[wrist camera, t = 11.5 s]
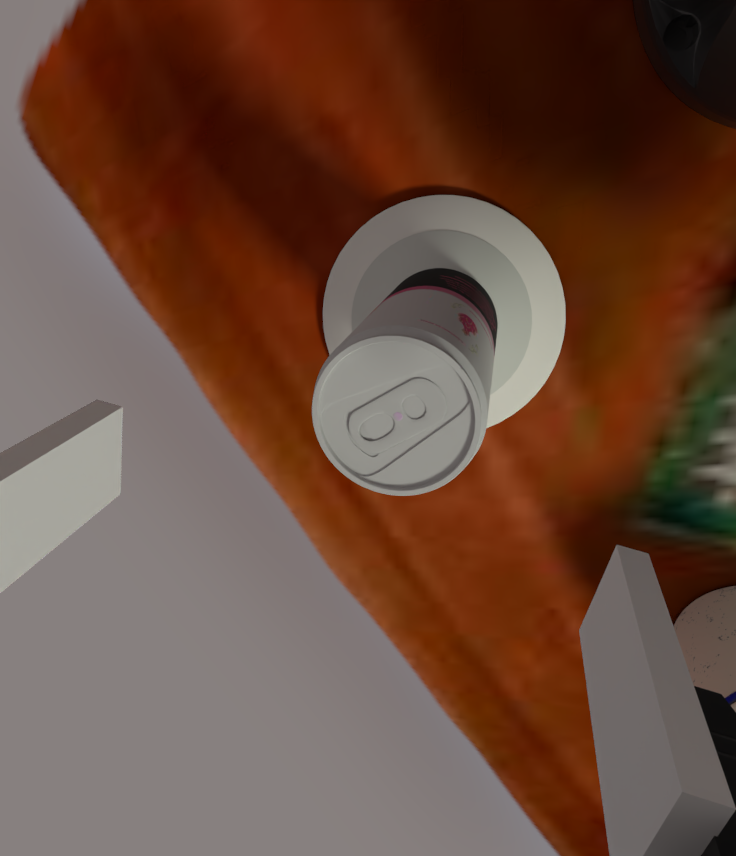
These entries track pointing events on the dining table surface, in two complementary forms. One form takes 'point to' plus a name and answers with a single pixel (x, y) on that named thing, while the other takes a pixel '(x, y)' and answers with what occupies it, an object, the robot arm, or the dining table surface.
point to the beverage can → (410, 386)
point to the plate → (472, 255)
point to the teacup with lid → (711, 641)
